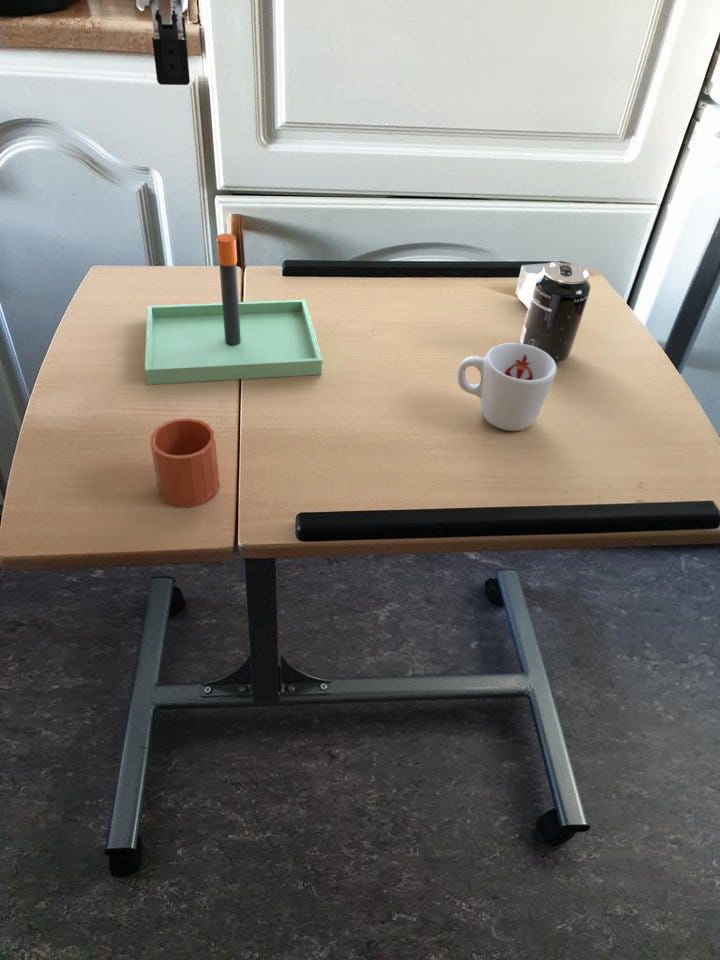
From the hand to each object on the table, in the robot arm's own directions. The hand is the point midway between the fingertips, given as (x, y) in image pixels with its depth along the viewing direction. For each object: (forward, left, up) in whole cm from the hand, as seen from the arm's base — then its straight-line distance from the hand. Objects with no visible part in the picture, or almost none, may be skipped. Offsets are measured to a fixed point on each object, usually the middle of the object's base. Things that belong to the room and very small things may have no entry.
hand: (173, 71), depth 74 cm
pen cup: (-2, -32, -30) cm, 44 cm away
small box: (+50, +2, -31) cm, 59 cm away
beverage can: (+45, -12, -31) cm, 56 cm away
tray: (+4, -6, -30) cm, 31 cm away
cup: (+34, -24, -31) cm, 52 cm away
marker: (+4, -6, -30) cm, 31 cm away
